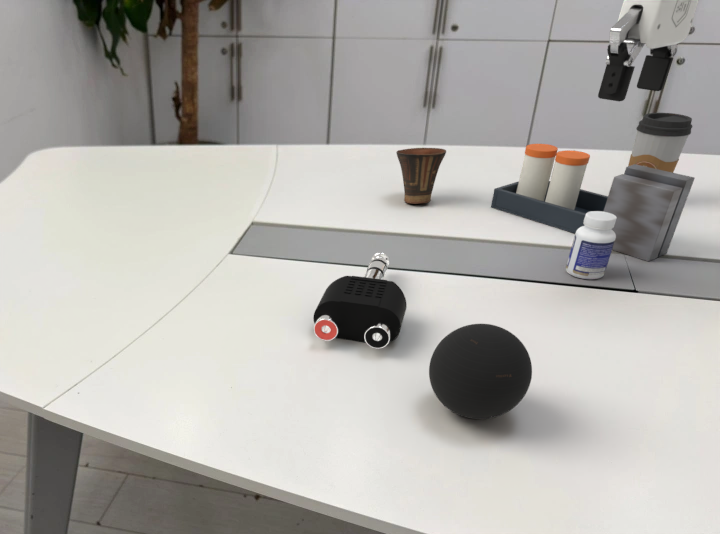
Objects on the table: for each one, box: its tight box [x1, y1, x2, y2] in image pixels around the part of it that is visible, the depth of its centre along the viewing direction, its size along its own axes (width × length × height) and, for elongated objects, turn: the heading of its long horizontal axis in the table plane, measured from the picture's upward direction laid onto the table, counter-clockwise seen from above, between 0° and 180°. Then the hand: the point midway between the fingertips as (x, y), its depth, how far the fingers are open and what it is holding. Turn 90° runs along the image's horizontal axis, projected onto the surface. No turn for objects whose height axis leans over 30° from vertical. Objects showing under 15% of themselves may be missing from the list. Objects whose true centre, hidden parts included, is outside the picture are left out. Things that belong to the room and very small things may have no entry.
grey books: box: [604, 164, 696, 262], centre depth 105 cm, size 9×5×12 cm, turn 33°
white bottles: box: [516, 143, 591, 210], centre depth 120 cm, size 11×5×10 cm, turn 33°
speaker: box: [428, 323, 533, 420], centre depth 70 cm, size 10×10×10 cm
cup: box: [396, 147, 447, 205], centre depth 127 cm, size 9×9×10 cm
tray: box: [490, 180, 608, 234], centre depth 120 cm, size 22×12×4 cm, turn 33°
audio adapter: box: [313, 252, 407, 350], centre depth 92 cm, size 11×5×25 cm
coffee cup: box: [627, 112, 693, 173], centre depth 122 cm, size 8×8×15 cm
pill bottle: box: [565, 211, 617, 280], centre depth 98 cm, size 5×5×9 cm
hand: (630, 94), depth 88 cm, fingers open, 9 cm apart
